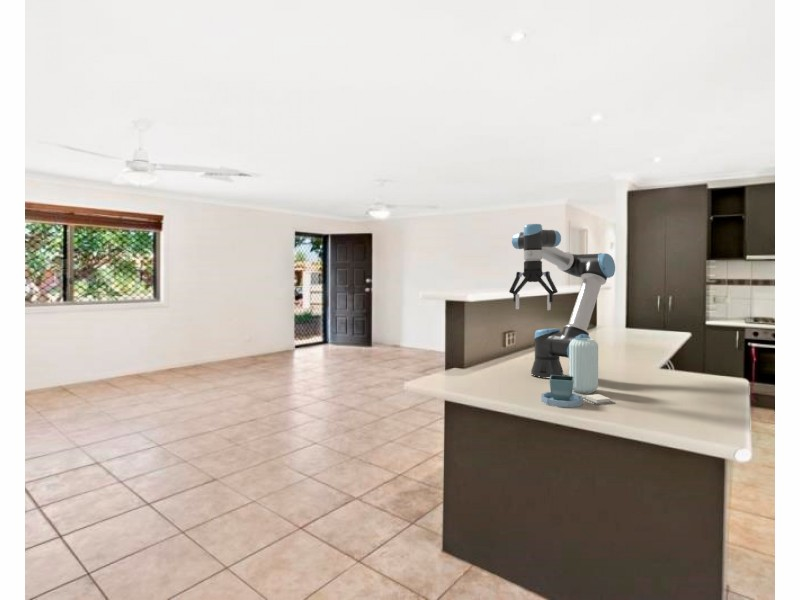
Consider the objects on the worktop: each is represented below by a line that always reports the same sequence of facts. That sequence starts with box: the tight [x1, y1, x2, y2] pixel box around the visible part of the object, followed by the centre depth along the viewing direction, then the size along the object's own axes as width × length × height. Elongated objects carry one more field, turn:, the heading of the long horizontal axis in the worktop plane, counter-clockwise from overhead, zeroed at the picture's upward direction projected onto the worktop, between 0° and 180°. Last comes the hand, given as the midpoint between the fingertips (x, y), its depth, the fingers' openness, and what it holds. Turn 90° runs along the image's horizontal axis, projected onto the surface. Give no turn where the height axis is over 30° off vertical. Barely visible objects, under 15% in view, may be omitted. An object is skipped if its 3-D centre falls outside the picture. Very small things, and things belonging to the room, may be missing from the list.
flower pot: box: [548, 375, 574, 401], centre depth 186 cm, size 9×9×9 cm
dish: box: [541, 391, 584, 408], centre depth 186 cm, size 15×15×2 cm
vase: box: [568, 338, 599, 394], centre depth 201 cm, size 12×12×22 cm
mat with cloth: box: [582, 393, 616, 406], centre depth 186 cm, size 10×8×2 cm
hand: (532, 309), depth 205 cm, fingers open, 13 cm apart
